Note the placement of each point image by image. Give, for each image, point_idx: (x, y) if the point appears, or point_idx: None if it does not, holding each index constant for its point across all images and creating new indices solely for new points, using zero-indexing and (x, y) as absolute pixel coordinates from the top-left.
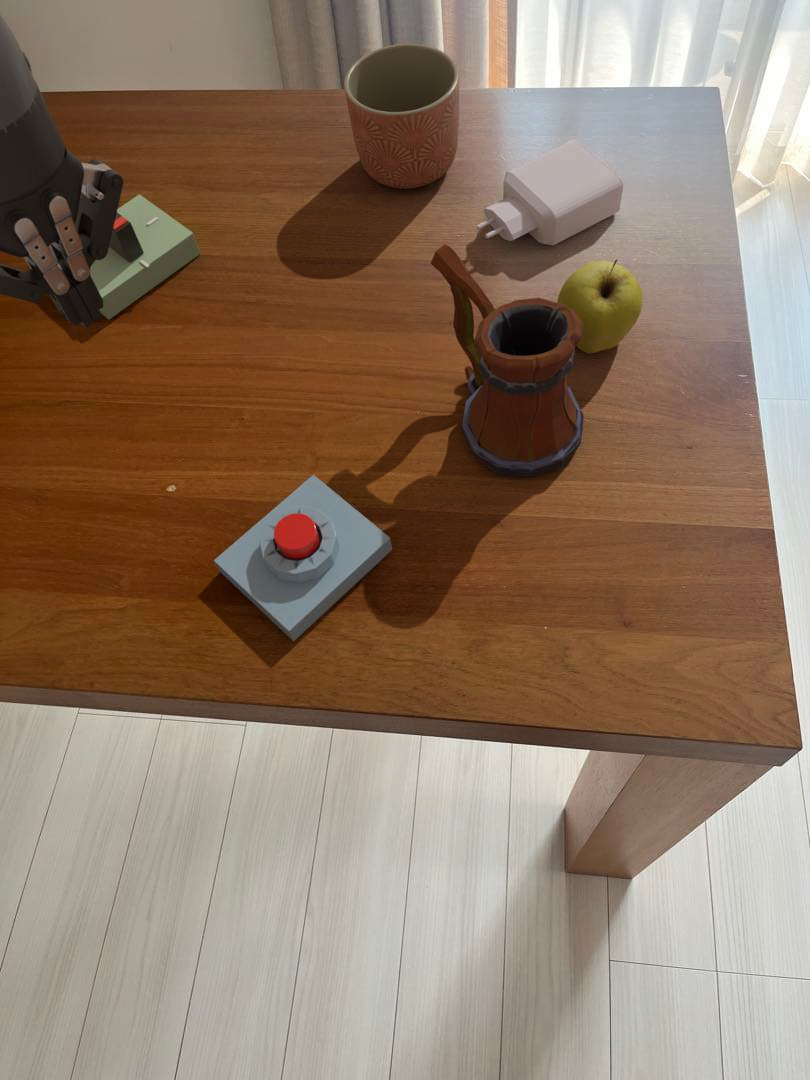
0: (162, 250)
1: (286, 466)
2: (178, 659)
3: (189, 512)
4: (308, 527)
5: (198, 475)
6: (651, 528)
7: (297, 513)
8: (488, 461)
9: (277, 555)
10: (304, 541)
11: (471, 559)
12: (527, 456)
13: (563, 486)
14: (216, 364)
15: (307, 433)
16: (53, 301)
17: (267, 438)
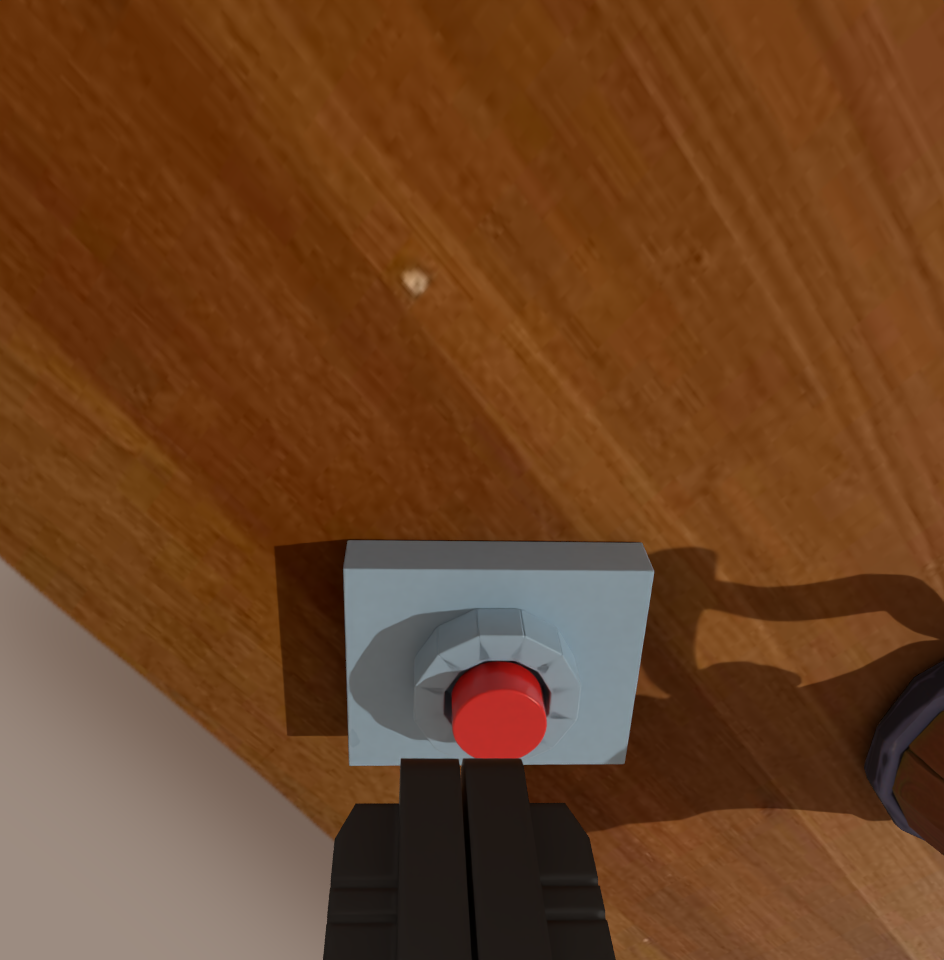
0: None
1: (646, 452)
2: (159, 616)
3: (399, 373)
4: (526, 738)
5: (490, 305)
6: (886, 944)
7: (536, 704)
8: (877, 769)
9: (439, 701)
10: (494, 755)
11: (681, 819)
12: (918, 833)
13: (896, 834)
14: (820, 21)
15: (752, 422)
16: (327, 923)
17: (685, 358)
